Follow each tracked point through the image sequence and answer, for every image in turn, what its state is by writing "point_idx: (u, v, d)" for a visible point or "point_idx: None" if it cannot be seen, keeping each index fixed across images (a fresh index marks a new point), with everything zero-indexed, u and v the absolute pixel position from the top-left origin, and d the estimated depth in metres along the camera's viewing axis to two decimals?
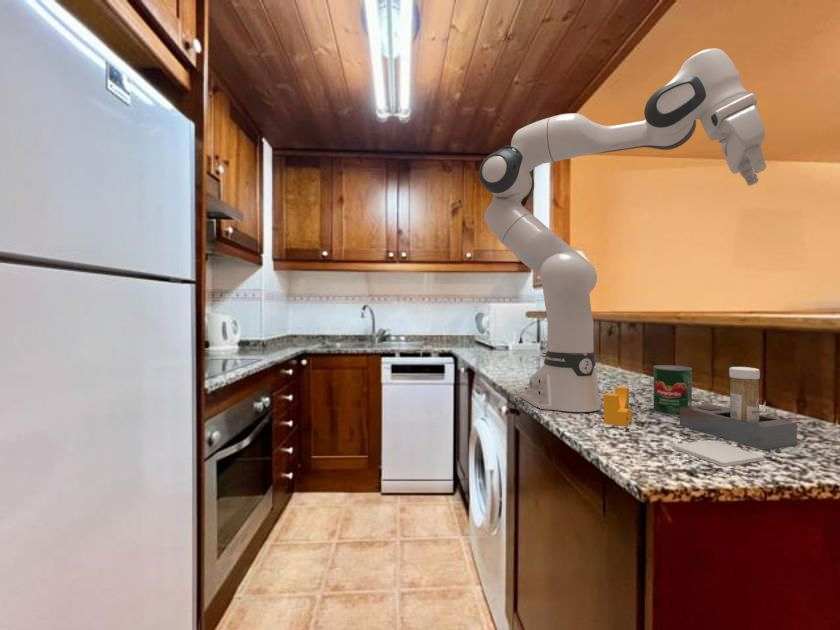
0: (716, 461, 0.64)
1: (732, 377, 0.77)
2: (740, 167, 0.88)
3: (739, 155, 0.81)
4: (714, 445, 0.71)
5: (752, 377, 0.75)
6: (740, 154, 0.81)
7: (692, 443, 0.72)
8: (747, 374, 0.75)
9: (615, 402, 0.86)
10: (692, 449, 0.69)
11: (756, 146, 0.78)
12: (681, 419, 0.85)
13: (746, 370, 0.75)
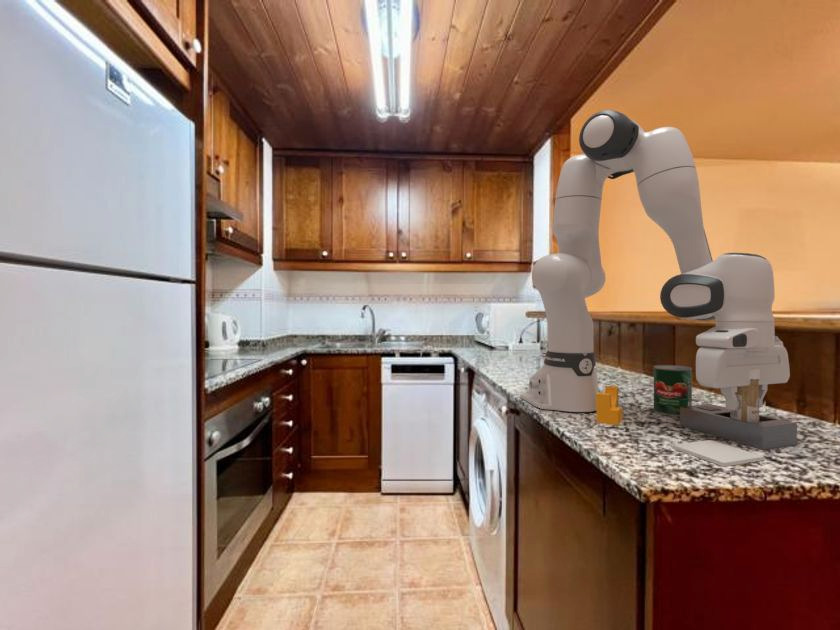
0: (716, 461, 0.64)
1: None
2: None
3: None
4: (714, 445, 0.71)
5: (752, 377, 0.75)
6: None
7: (692, 443, 0.72)
8: None
9: (608, 401, 0.87)
10: (692, 449, 0.69)
11: None
12: (681, 419, 0.85)
13: None
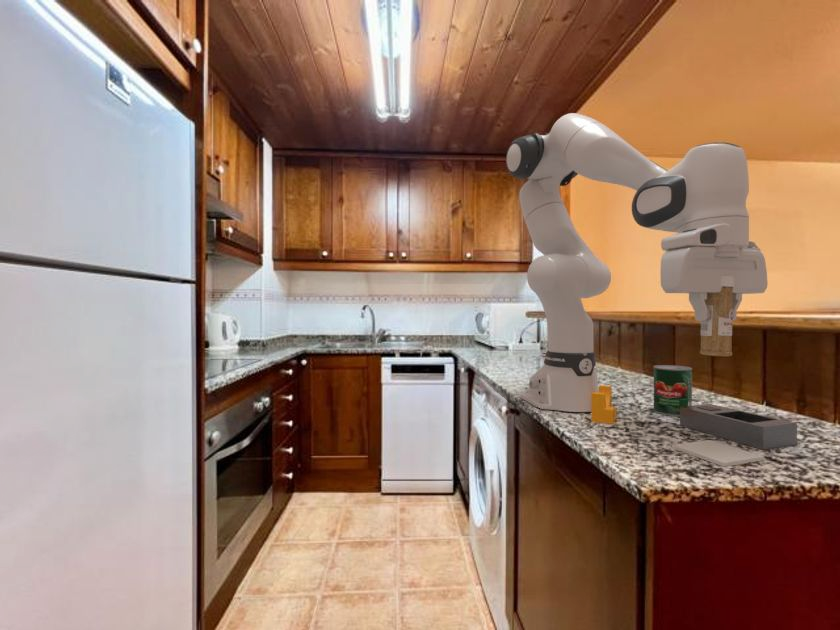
0: (716, 461, 0.64)
1: None
2: None
3: None
4: (714, 445, 0.71)
5: (725, 284, 0.66)
6: None
7: (692, 443, 0.72)
8: None
9: (602, 400, 0.88)
10: (692, 449, 0.69)
11: None
12: (681, 419, 0.85)
13: None
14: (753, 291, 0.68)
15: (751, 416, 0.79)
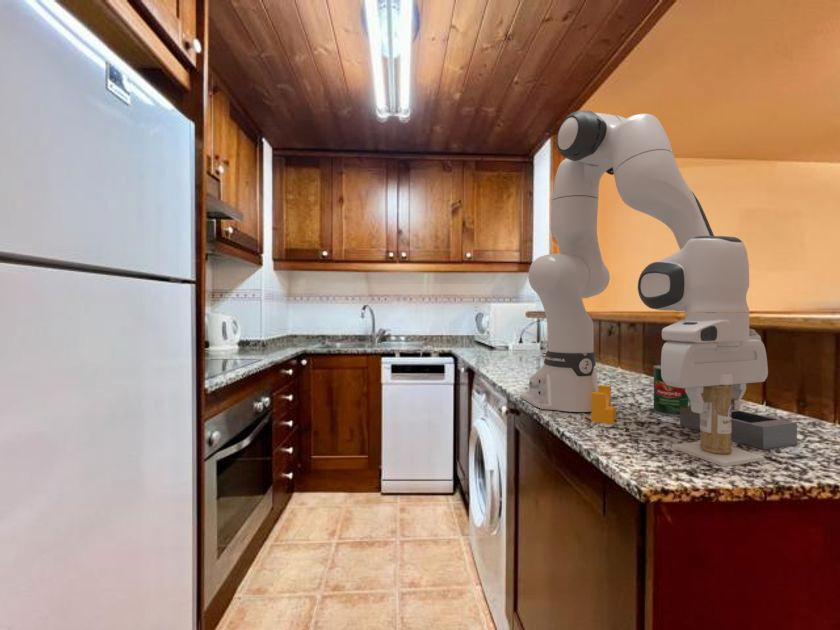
0: (716, 461, 0.64)
1: None
2: None
3: None
4: None
5: (724, 383, 0.66)
6: None
7: (692, 443, 0.72)
8: None
9: (603, 400, 0.88)
10: (692, 449, 0.69)
11: None
12: (681, 419, 0.85)
13: None
14: (753, 381, 0.68)
15: (751, 416, 0.79)
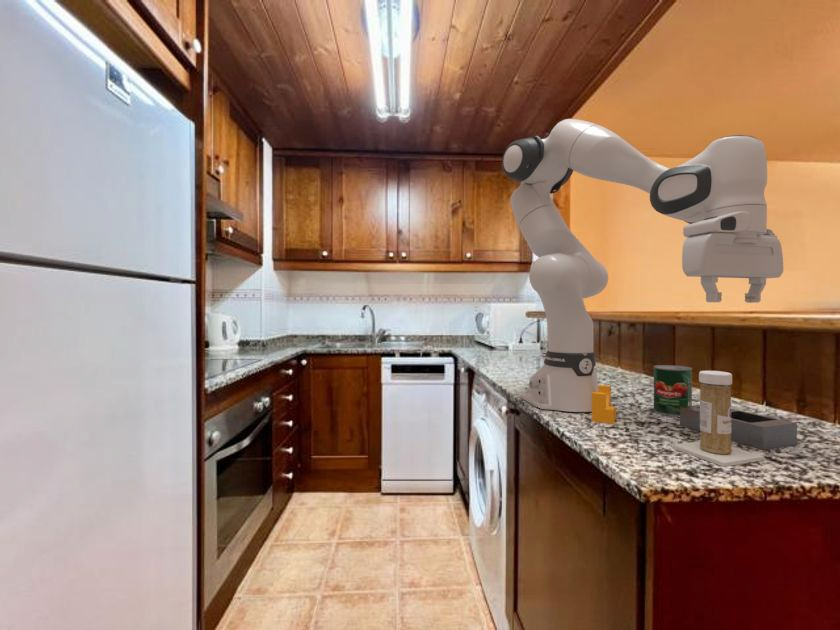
0: (716, 461, 0.64)
1: (702, 382, 0.68)
2: (750, 278, 0.75)
3: None
4: None
5: (723, 383, 0.66)
6: None
7: (692, 443, 0.72)
8: (718, 379, 0.66)
9: (603, 400, 0.88)
10: (692, 449, 0.69)
11: (709, 277, 0.71)
12: (681, 419, 0.85)
13: (717, 374, 0.66)
14: (769, 275, 0.73)
15: (751, 416, 0.79)
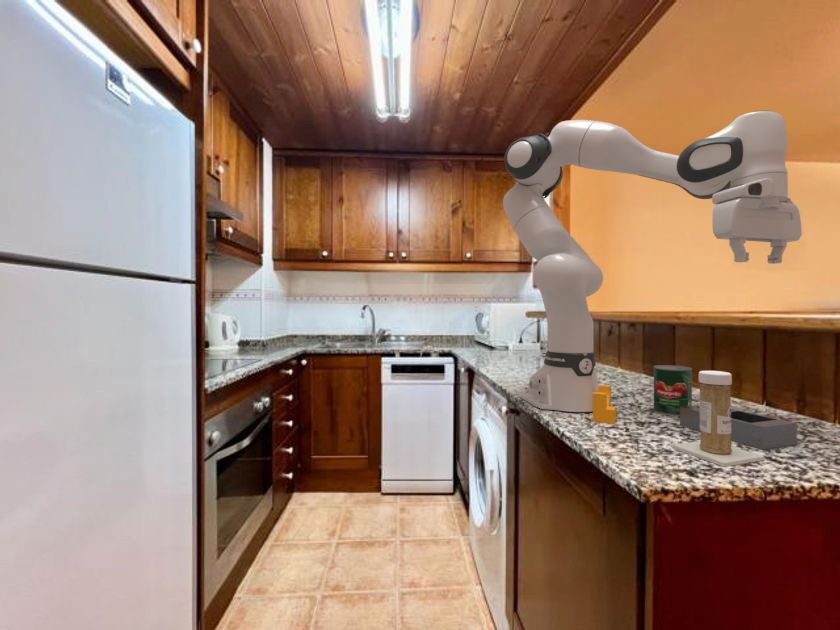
0: (716, 461, 0.64)
1: (701, 382, 0.68)
2: (772, 241, 0.83)
3: None
4: None
5: (723, 383, 0.66)
6: None
7: (692, 443, 0.72)
8: (717, 379, 0.66)
9: (604, 400, 0.88)
10: (692, 449, 0.69)
11: (737, 238, 0.78)
12: (681, 419, 0.85)
13: (716, 374, 0.66)
14: (790, 238, 0.81)
15: (751, 416, 0.79)
